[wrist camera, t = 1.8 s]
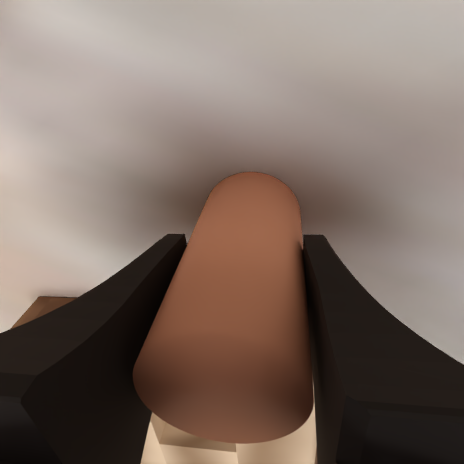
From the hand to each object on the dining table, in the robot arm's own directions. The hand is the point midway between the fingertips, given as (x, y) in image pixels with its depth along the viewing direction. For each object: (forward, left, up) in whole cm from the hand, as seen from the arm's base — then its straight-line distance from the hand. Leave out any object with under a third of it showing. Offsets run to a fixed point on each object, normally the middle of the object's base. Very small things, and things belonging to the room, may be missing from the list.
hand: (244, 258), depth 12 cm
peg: (0, 0, -3) cm, 3 cm away
